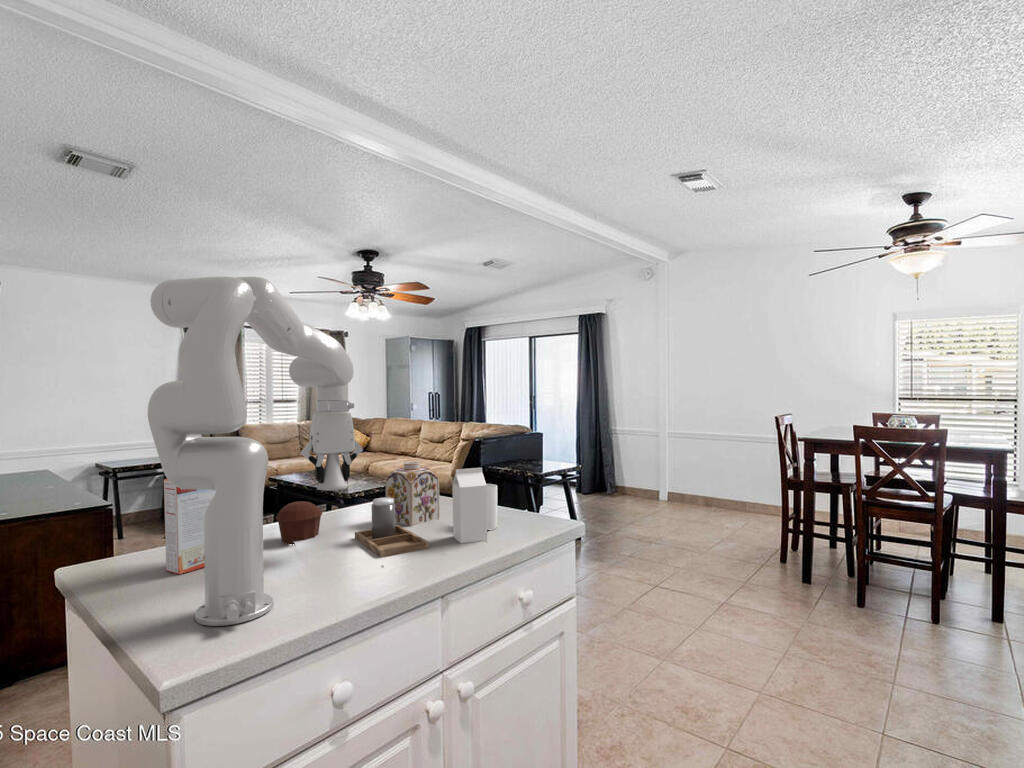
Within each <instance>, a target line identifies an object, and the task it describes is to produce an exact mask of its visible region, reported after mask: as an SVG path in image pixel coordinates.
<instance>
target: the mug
mask: <svg viewBox="0 0 1024 768" xmlns="http://www.w3.org/2000/svg"><path fill="white" fill-rule="evenodd" d="M486 485H487V530H489V529H494V528H496V527H497V528H498V485H497V484H492V483H486ZM497 528H496V529H497Z"/></svg>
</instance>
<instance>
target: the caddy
mask: <svg viewBox="0 0 1024 768" xmlns="http://www.w3.org/2000/svg"><path fill="white" fill-rule="evenodd" d="M354 539H355V540H356V541H358V542H359V543H360V544H361V545H363V546H365V547H366V548H367V549H369V550H370V551H371V552H373V553H374V554H375V555H377V556H378V557H380V558H381V559H382V558H387V557H392V556H397V555H402V554H406V553H407V554H408V553H412V552H418V551H424V550H428V549H430V542H429V541H428V540H426V539H425V538H423V537H421V536H419V535H418V534H416V533H413V532H412V531H410V530H409V529H406V528H404V527H403V526H401V525H399V524H397V525H396V535H395V536H389V537H383V538H377V539H372V528H371V529H365V530H359V531H355V532H354Z"/></svg>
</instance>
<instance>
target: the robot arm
mask: <svg viewBox="0 0 1024 768" xmlns="http://www.w3.org/2000/svg"><path fill="white" fill-rule="evenodd" d="M149 301H150V307H151V311H152V312H153V313H152V314H153V315H154V317H156V319H158V320H159V322H161V323H162V324H163V325H165V326H168V327H171V328H177V329H179V328H181V329H183V328H184V329H185V328H187V330H186V331H185V333H184V335H183V337H182V340H181V342H180V345H179V349H178V363H179V369H180V374H181V378H182V379H181V380H174V381H168V382H165V383H163V384H161V385H159V386H158V387H156V388H155V390H154V391H153V392H152V394H151V395H150V398H149V401H148V405H147V419H148V420H147V421H148V425H149V429H150V432H151V435H152V438H153V439H152V440H153V442H154V445H155V449H156V453H157V455H158V458H159V462H160V464H161V468H162V471H163V474H164V476H165V477H166V479H168V480H169V481H170V483H172V484H173V485H174V486H176V487H179V488H183V489H202V490H216V493H215V495H214V497H213V499H212V500H211V502H210V504H209V505H208V507H207V509H206V512H205V516H204V566H205V567H204V604H202V605H200V606H199V607H198V608H197V609H196V610H195V613H194V619H195V622H196V623H198V624H200V625H202V626H207V627H208V626H209V627H221V626H222V627H223V626H231V625H239V624H242V623H245V622H250V621H252V620H255V619H257V618H259V617H262V616H263V615H265V614H267V613H268V612H270V610H271V609H272V608H273V606H274V598H273V597H272V596H271V595H270V594H267V593H265V581H264V578H265V577H264V576H265V573H264V569H265V567H264V525H263V524H264V518H263V517H264V509H263V508H264V492H265V484H266V478H267V474H268V473H267V472H268V468H269V455H268V451H267V449H266V447H265V446H264V445H263V444H262V443H261V442H260V441H258V440H256V439H253V438H250V437H247V436H246V437H244V436H202V435H222V434H230V433H233V432H236V431H238V430H240V429H242V427H243V426H244V425H245V423H246V421H247V417H248V410H247V409H248V408H247V403H246V398H245V394H244V390H243V385H242V381H241V376H240V373H239V369H238V364H237V358H236V344H237V340H238V337H239V334H240V332H241V330H242V328H243V326H244V325H245V323H247V324H248V326H250V328H252V329H253V331H255V333H256V334H257V336H259V337H260V339H261V340H263V342H264V343H265V344H266V345H267V346H268V347H269V348H270V349H272V350H273V351H276V352H278V353H282V354H284V355H287V356H293V357H295V358H294V359H293V360H292V361H291V362H290V364H289V368H288V374H289V378H290V380H291V381H292V382H293V383H294V384H296V385H297V386H300V387H303V388H316V413H313V414H312V418H311V423H310V432H309V442H308V443H307V444H306V445H305V446H304V447H303V449H302V450H301V451H300V455H302V456H303V457H304V458H305V459H306V460H308V461H309V463H311V464H312V465H313V466H315V471H314V473H315V475H314V476H315V477H314V478H315V480H316V481H317V483H318V484H319V483H323V482H324V468H325V466H323V464H322V463H323V460H324V457H325V455H327V454H338V455H339V454H340V455H341V457H342V458H341V459H342V464H341V469H342V471H343V475H344V480H345V481H346V482H348V481H349V478H350V477H351V476H350V475H351V472H350V471H351V470H350V469H351V467H350V466H351V465H352V462H354V460H355V459H356V458H357V457H358V456H359V455H360V454H361V453H362V452H363V451H364V449H363V447H362V446H361V445H360V444H359V443H358V442H357V440H356V438H355V429H354V421H353V417H352V413H351V412H350V410H351V409H354V408H355V403H354V402H350V400H349V383H350V382H351V381H352V380H353V378H354V370H355V369H354V364H353V362H352V360H351V357H350V356H349V354H348V353H347V351H346V350H345V348H344V346H343V345H342V344H341V343H340V342H339V341H338V340H337V339H336V338H334V337H332V336H331V335H329V334H328V333H326V332H323V331H322V330H320V329H318V328H316V327H314V326H312V325H309V324H307V323H305V322H304V321H302V320H301V319H300V317H299V316H298V315H297V314H296V312H295V311H294V309H293V308H292V307H291V306H290V304H289V303H288V302H287V300H286V299H285V297H283V295H282V294H281V293H280V291H279V290H278V289H277V288H276V287H275V285H274V284H273V283H272V282H271V281H269V280H268V279H266V278H264V277H260V276H241V277H239V276H238V277H233V276H207V277H206V276H205V277H195V278H193V277H192V278H191V277H190V278H175V279H167V280H165V281H161V282H160V283H159V284H158V285H157V286H156V287H155V288H154V289H153V290H152V293H151V295H150V300H149ZM310 452H311V453H312V454H316V455H315V456H314V455H312V454H311V453H310Z"/></svg>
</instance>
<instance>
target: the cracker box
mask: <svg viewBox="0 0 1024 768" xmlns="http://www.w3.org/2000/svg"><path fill="white" fill-rule="evenodd" d="M215 493H216V490H202V489H183V488H179V487H176V486H174V485H173V484H172V483H170V481H169V480H168V479H167V478H165V479H163V499H164V500H163V501H164V503H163V504H164V505H163V507H164V532H165V534H164V535H165V536H164V537H165V539H164V540H165V568H166V570H165V571H167V572H170V573H173V574H176V575H183V573H184V574H186V572H187V573H190V572H192V571H196V570H200V569H203V568H205V566H204V516H205V512H206V509H207V507H208V505H209V504H210V502H211V500H212V499H213V497H214V495H215Z"/></svg>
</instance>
